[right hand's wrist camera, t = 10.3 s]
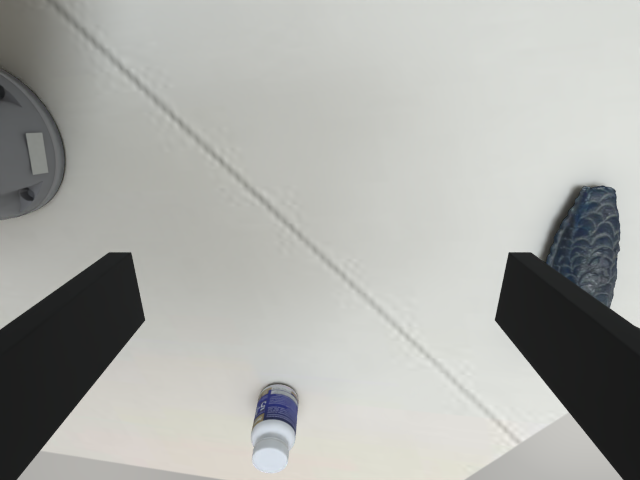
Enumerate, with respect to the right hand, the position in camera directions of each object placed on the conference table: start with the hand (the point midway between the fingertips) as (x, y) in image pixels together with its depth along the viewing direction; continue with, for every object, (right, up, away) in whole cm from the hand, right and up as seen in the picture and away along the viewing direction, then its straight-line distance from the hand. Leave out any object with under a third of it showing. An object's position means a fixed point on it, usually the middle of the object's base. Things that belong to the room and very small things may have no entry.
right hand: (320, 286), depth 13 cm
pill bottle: (-6, -19, +35) cm, 40 cm away
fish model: (+28, -2, +28) cm, 40 cm away
